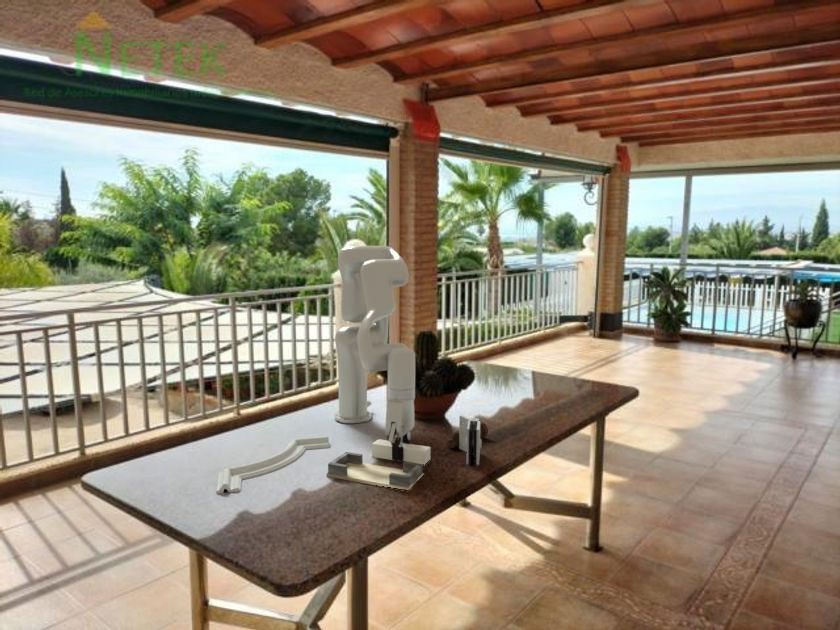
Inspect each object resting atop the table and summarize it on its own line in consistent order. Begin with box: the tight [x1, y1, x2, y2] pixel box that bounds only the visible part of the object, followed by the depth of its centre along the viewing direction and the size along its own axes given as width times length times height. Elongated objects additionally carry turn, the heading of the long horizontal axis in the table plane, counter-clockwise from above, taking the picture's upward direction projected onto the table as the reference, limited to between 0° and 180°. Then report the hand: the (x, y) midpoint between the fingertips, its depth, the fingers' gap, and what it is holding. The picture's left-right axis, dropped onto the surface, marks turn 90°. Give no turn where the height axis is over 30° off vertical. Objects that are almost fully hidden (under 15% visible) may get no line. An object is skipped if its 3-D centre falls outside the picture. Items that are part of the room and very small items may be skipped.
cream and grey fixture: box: [326, 451, 425, 491], centre depth 153 cm, size 10×23×3 cm, turn 68°
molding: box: [216, 435, 331, 495], centre depth 161 cm, size 42×12×3 cm, turn 151°
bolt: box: [446, 420, 489, 449], centre depth 178 cm, size 6×5×15 cm
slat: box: [371, 438, 432, 466], centre depth 165 cm, size 4×16×4 cm, turn 68°
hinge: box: [458, 414, 483, 467], centre depth 167 cm, size 14×5×10 cm, turn 5°
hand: (401, 456), depth 165 cm, fingers closed on slat, 4 cm apart
